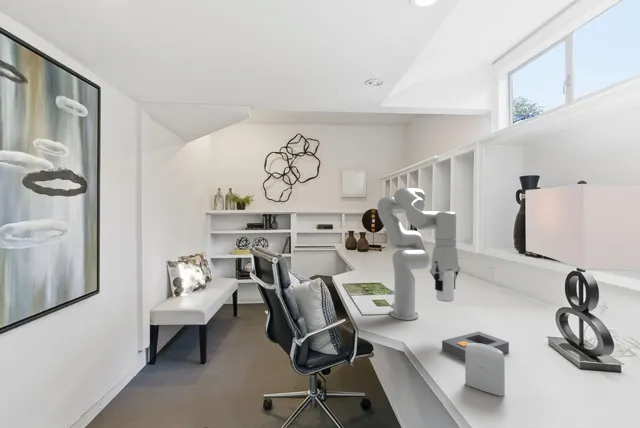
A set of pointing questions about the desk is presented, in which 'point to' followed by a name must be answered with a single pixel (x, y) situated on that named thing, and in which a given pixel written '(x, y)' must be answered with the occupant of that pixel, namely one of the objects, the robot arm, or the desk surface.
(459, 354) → the grey socket block
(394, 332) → the desk surface
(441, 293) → the can
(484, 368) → the photo printer
